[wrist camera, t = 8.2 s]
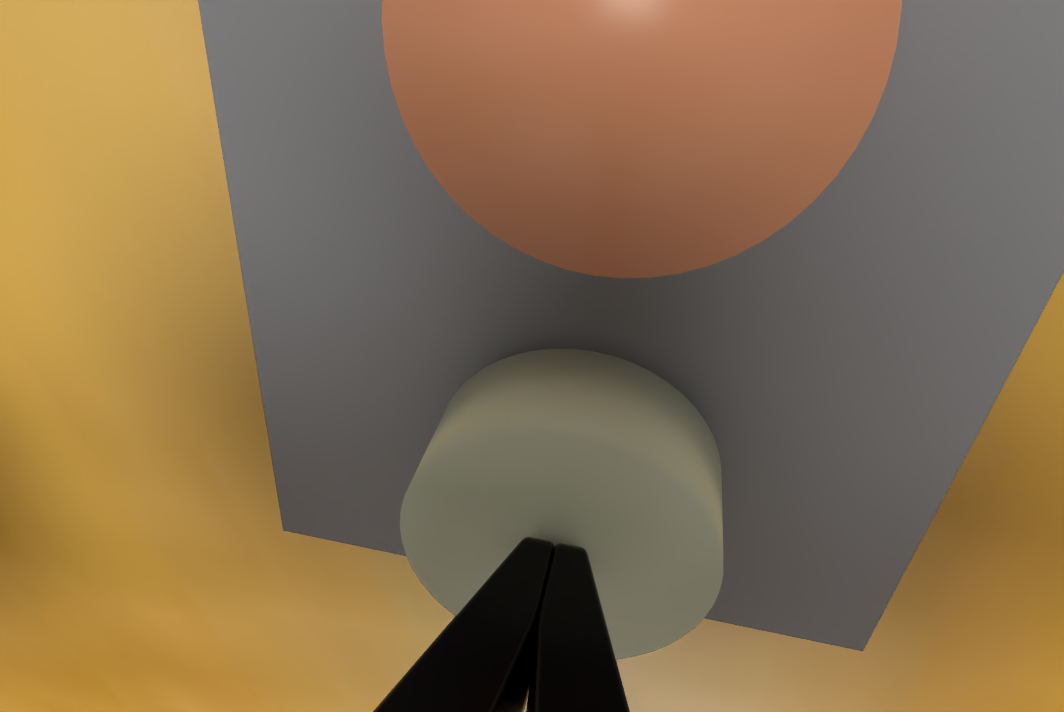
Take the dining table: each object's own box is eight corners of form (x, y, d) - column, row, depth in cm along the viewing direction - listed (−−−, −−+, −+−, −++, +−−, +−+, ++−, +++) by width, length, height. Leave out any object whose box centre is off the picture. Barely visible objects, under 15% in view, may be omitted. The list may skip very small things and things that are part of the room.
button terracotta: (439, 183, 9) (390, 243, 8) (441, -266, 7) (370, -301, 6) (795, 236, 9) (812, 309, 7) (932, -230, 6) (998, -258, 5)
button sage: (437, 539, 13) (403, 624, 12) (438, 324, 11) (395, 399, 9) (690, 590, 13) (687, 687, 11) (752, 378, 10) (761, 466, 9)
